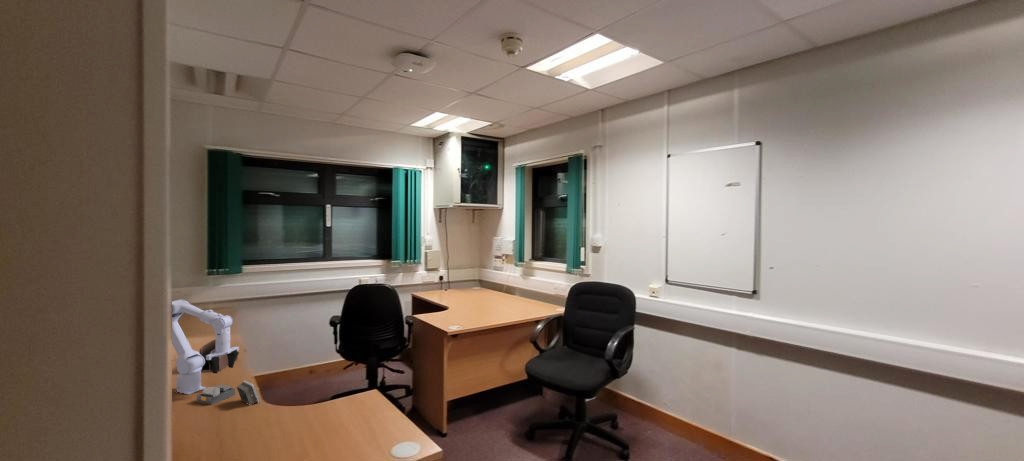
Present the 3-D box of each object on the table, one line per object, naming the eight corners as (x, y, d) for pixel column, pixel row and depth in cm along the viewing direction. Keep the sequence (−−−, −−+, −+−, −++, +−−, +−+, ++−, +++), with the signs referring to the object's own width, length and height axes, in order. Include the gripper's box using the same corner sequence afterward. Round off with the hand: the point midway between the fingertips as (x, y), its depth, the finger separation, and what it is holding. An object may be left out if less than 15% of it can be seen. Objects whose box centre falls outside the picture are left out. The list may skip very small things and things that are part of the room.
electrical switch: (260, 402, 176) (258, 382, 175) (247, 408, 171) (245, 387, 171) (250, 397, 181) (247, 378, 180) (237, 403, 176) (235, 383, 176)
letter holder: (198, 373, 212) (198, 346, 211) (219, 360, 231) (218, 336, 231) (219, 371, 213) (219, 345, 213) (237, 359, 233) (237, 335, 233)
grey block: (203, 400, 177) (203, 389, 177) (210, 397, 180) (209, 386, 180) (213, 401, 175) (212, 390, 175) (219, 398, 178) (219, 387, 178)
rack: (196, 402, 176) (196, 392, 176) (221, 392, 186) (220, 383, 186) (211, 404, 173) (210, 394, 173) (235, 394, 184) (234, 385, 184)
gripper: (213, 347, 180) (214, 376, 180) (243, 338, 194) (243, 365, 194) (202, 345, 182) (202, 375, 182) (232, 337, 196) (232, 364, 196)
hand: (223, 370), depth 188 cm, fingers open, 7 cm apart
